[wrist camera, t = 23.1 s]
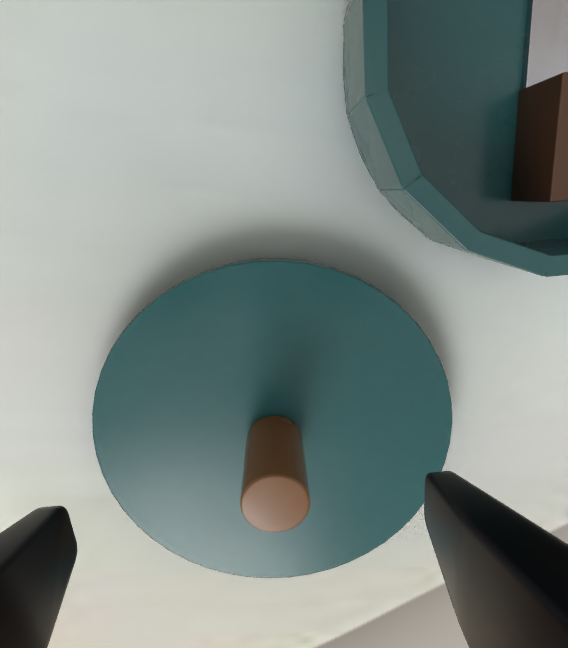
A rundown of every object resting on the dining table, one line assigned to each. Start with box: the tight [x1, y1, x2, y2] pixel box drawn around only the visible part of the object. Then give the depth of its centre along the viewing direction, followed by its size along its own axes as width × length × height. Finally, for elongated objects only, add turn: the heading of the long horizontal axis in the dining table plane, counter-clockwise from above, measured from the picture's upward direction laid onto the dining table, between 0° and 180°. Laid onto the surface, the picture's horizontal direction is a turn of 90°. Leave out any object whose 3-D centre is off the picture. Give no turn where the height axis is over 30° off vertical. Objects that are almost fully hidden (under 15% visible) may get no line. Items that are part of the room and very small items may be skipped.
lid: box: [92, 259, 452, 578], centre depth 17 cm, size 15×15×5 cm
